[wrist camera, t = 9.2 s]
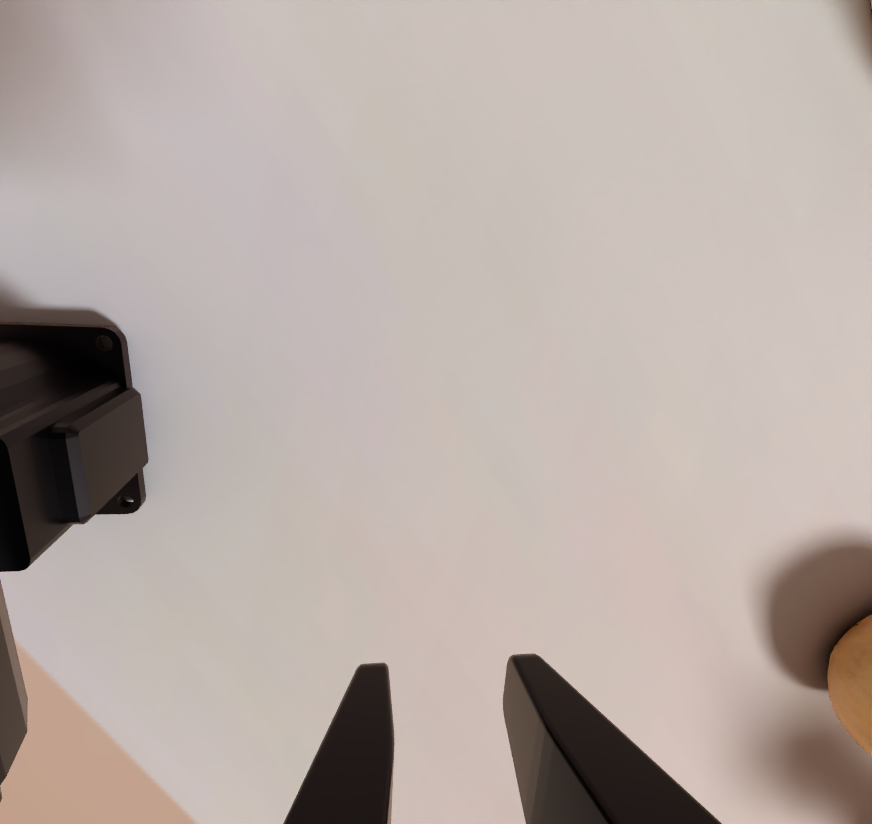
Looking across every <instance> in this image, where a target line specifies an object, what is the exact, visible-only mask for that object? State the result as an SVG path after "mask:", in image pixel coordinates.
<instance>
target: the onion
mask: <svg viewBox="0 0 872 824" xmlns="http://www.w3.org/2000/svg"><path fill="white" fill-rule="evenodd" d="M857 625H858V626H857ZM827 680H828V689H829V697H830V700H831V703H832V707H833V709H834V711H835V713H836V715H837V717H838V719H839V720H840V722H841V723H842V725H843V726H844V727H845V729H846V730H847V731H848V732H849V733H850V735H851V736H852V737H853V738H854V739H855V740H856V741H857V742H858V743H859V744H860V745H861V746H862V747H863V748H864V749H865V750H866V751H867V752H868V753H869V754H870V755H872V614H871V615H870V616H867V617H866V618H864V619H863V620H861V621H859V622H857V624H855V625H854V626H853V627H852V628H851V629H850V630H848V632H847V633H845V634H844V636H843V637H842V638H841V639H840V640H839V641H838V644H836V645H835V647H834V649H833V652H832V653H831V655H830V659H829V667H828V674H827Z"/></svg>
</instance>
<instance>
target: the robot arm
mask: <svg viewBox="0 0 872 824" xmlns="http://www.w3.org/2000/svg"><path fill="white" fill-rule="evenodd" d="M103 336H108V337H109V338H110V339H111V340H112V342H113V348H112V349H108V348H106V347H105V346H104V345H103V344H102V337H103ZM147 463H148V453H147V444H146V436H145V427H144V419H143V410H142V402H141V395H140V393H139V392H138V391H137V390H136V389H135V388H133V387H132V379H131V371H130V363H129V355H128V346H127V341H126V338H125V335H124V334H123V333H122V332H121V331H120V330H119V329H117V328H115V327H112V326H101V325H73V324H44V323H16V322H0V572H6V571H21V570H25V569H26V568H28V567H29V566H30V565H31V564H32V563H33V562H34V561H35V560H36V559H37V558H38V557H39V556H40V555H41V554H42V553H43V552H45V551H46V550H47V549H48V548H49V547H50V546H51V545H52V544H53V543H54V542H55V541H56V540H57V539H58V538H59V537H60V536H61V535H63V534H64V533H65V532H66V531H67V530H68V529H69V528H70V527H71V526H72V525H73V524H85V523H87V522H88V521H89V520H90V519H91V518H92V517H93V516H94V515H95V514H129V513H134V512H135V511H137V510H138V509H139V508H140V507H141V506H142V505H143V503H144V502H145V498H146V493H145V485H144V477H143V467H144V466H145V465H146V464H147ZM123 494H127V495H130V496H131V497H132V498H133V500H134V502H128V501H126V500H125V499H124V497H123ZM27 701H28V698H27V694H26V689H25V685H24V681H23V676H22V672H21V668H20V664H19V659H18V655H17V650H16V646H15V642H14V637H13V633H12V629H11V624H10V620H9V616H8V611H7V607H6V602H5V598H4V594H3V589H2V585H1V581H0V785H1V783H2V782H3V780H4V779H5V778H6V776H7V774H8V772H9V769H10V767H11V765H12V763H13V761H14V759H15V756H16V754H17V752H18V750H19V748H20V746H21V744H22V741H23V739H24V737H25V735H26V733H27ZM503 711H504V718H505V723H506V728H507V733H508V738H509V743H510V748H511V752H512V757H513V762H514V767H515V772H516V777H517V782H518V787H519V792H520V797H521V802H522V807H523V811H524V816H525V821H526V824H722V823H721V822H719V821H718V820H717V819H716V818H715V817H714V816H713V815H712V814H711V813H710V812H709V811H707V810H706V809H705V808H704V807H703V806H702V805H701V804H700V803H699V802H698V801H697V800H695V799H694V798H693V797H692V796H691V795H690V794H689V793H688V792H687V791H686V790H685V789H684V788H682V787H681V786H680V785H679V784H678V783H677V782H676V781H675V780H674V779H673V778H672V777H670V776H669V775H668V774H667V773H666V772H665V771H664V770H663V769H662V768H661V767H660V766H658V765H657V764H656V763H655V762H654V761H653V760H652V759H651V758H650V757H649V756H648V755H647V754H645V753H644V752H643V751H642V750H641V749H640V748H639V747H638V746H637V745H636V744H635V743H633V742H632V741H631V740H630V739H629V738H628V737H627V736H626V735H625V734H624V733H623V732H621V731H620V730H619V729H618V728H617V727H616V726H615V725H614V724H613V723H612V722H611V721H610V720H608V719H607V718H606V717H605V716H604V715H603V714H602V713H601V712H600V711H599V710H598V709H596V708H595V707H594V706H593V705H592V704H591V703H590V702H589V701H588V700H587V699H586V698H584V697H583V696H582V695H581V694H580V693H579V692H578V691H577V690H576V689H575V688H574V687H573V686H571V685H570V684H569V683H568V682H567V681H566V680H565V679H564V678H563V677H562V676H561V675H559V674H558V673H557V672H556V671H555V670H554V669H553V668H552V667H551V666H550V665H549V664H547V663H546V662H545V661H544V660H543V659H542V658H541V657H540V656H538V655H536V654H517V655H512V656H510V657H509V660H508V662H507V670H506V678H505V686H504V694H503ZM393 762H394V726H393V715H392V703H391V692H390V681H389V670H388V666H387V664H385V663H371V664H361V665H360V666H359V667H358V668H357V669H356V671H355V674H354V676H353V678H352V680H351V682H350V684H349V686H348V688H347V690H346V693H345V695H344V697H343V699H342V701H341V703H340V705H339V707H338V709H337V712H336V714H335V716H334V718H333V720H332V722H331V724H330V726H329V728H328V731H327V733H326V735H325V737H324V739H323V741H322V743H321V745H320V747H319V750H318V752H317V754H316V756H315V758H314V760H313V762H312V764H311V766H310V769H309V771H308V773H307V775H306V777H305V779H304V781H303V783H302V785H301V787H300V790H299V792H298V794H297V796H296V798H295V800H294V802H293V804H292V806H291V809H290V811H289V813H288V815H287V817H286V819H285V821H284V823H283V824H391V809H392V786H393ZM1 799H2V792H1V788H0V801H1Z"/></svg>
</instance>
